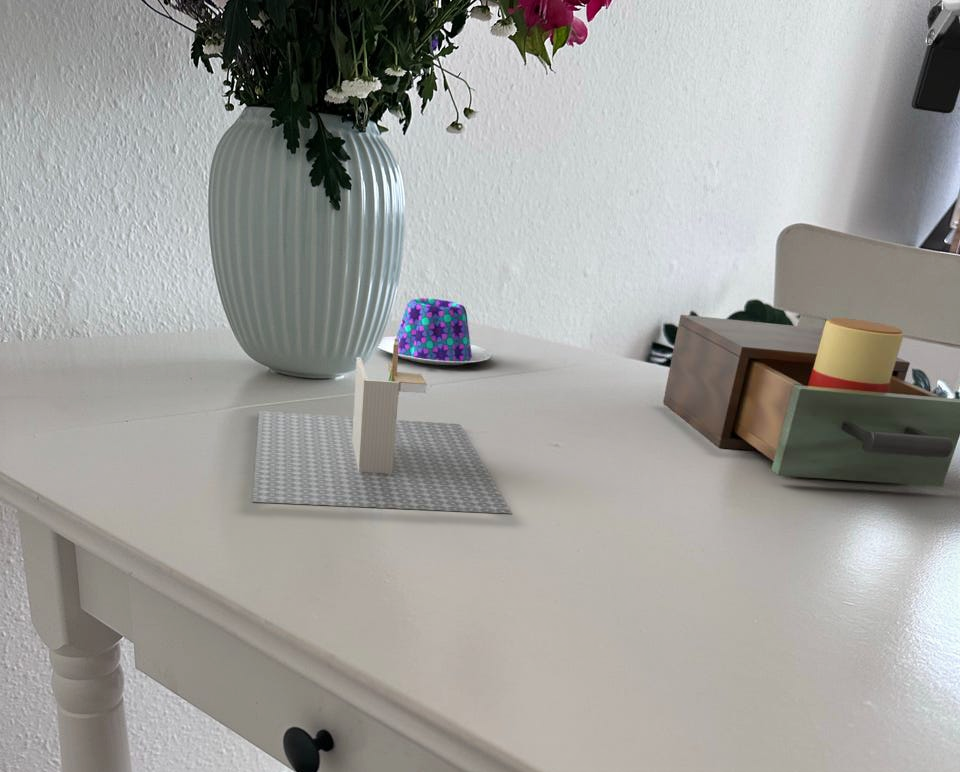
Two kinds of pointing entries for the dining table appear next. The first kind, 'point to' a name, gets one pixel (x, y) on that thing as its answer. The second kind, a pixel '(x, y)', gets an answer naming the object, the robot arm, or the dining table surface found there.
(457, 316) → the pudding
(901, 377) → the cabinet
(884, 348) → the biscuit roll
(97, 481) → the dining table surface
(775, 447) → the drawer
